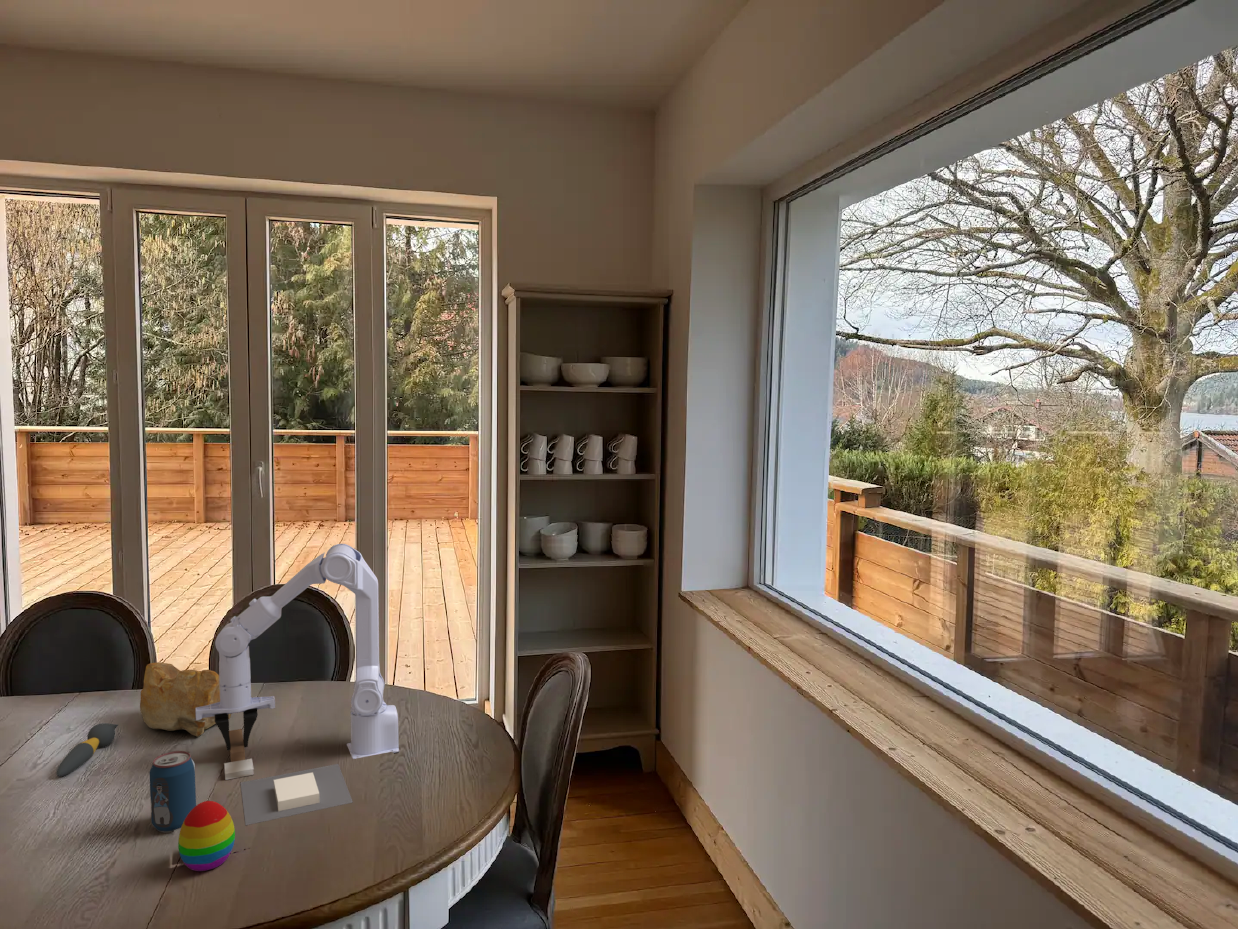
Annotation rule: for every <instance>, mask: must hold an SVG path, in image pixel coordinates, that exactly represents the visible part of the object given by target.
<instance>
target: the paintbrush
mask: <svg viewBox="0 0 1238 929" xmlns="http://www.w3.org/2000/svg"><path fill="white" fill-rule="evenodd" d="M118 727H119V724H113V723H107V722H106V723H105V722H102V723H97V724H94V726H92V727H91V728H90V729H89V731H88V732H87V739H85V740H84V741H82V742H80V743H78V744H76V745H75V747H73V748H72V749H70V751H69V752H68V753H67V754H66V756H65V757H64V758H63V759H62V760H61V762H60V763H59V765H58V767H57V769H56V772H55V773H56V774H55V775H56V776H57V777H65V776H67V775H69V774H71V773H73V772H74V771H76V770H77V769H79V768H80V767H83V765H85V764H86V763H87V762H88V761H89V760H90V759H91V758H92V757H93V755H94V754H95V752H96V750H97V749H102V748H106V747H108V746H110V745H111V744H113V742H114V740H115V737H116V729H117V728H118Z"/></svg>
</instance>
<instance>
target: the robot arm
mask: <svg viewBox="0 0 1238 929" xmlns="http://www.w3.org/2000/svg"><path fill="white" fill-rule="evenodd" d="M324 555H325V556H324ZM326 581H329V582H331V583H334V584H336V585H340V586H343V587H345V588H347V589H348V590H349V591H351V593H353V594H354V596H355V653H356V654H355V655H356V656H355V658H356V660H355V662H356V667H355V668H356V669H355V670H356V671H355V673H356V675H355V681H354V683H353V693H352V696H351V698H350V701H351V702H350V704H351V707H350V742H348V743H346V747H347V748H348V752H349V753H350V756H351V758H352V759H353V760H355V759H360V758H367V757H370V756H375V755H380V754H382V755H383V754H386V753H390V752H391V753H393V754H394V753H395V754H396V753H399V752H400V748H399V714H398V710H397V708H396V705H394V704H390V705H389V704H387V703H386V702H385V700H384V691H385V690H384V689H385V686H386V685H385V680H384V678H383V676H382V674H381V669H380V668H381V666H380V665H381V664H380V631H379V630H380V628H379V627H380V618H379V613H380V612H379V609H380V608H379V580H378V578H377V576H376V574H375V573H374V572H373V570H372V568H370V566H369V564H368V563H367V562H366V561H365V559H364V557H363V555H362V553H361V552H360V551H358V550H357V549H355V548H354V547H352V546H351V545H349V544H346V543H337V544H334V545H332V546H331V547H330V548H329V549H328V550H327V552H326V553H325V552H323V553H321V554H319V555H317V556H316V557H315V558H314V559H312V560H311V561H310V562H308V563H307V564H306V565H304V566H303V567H302V568H301V569H300V570H299V571H298V572H297V573H296V574H295V575H294V576H292V577H291V578H290V579H289V580H287V582H285V584H284V585H282V586H281V587H280V588H279V589H277V591H275V593H273V594H272V595H271V596H266V595H265V596H264V595H263V596H260V597H259V598H258V599H256V598H253V599H252V600H250V601H249V603H248V605H249V606H248V607H247V608H246V609H244V610H243V611H242V612H241V613H240V614H239V615H237V616H236V615H234V616H233V617H232V618H231V619H230V620H229V621H230V622H229V623H227V624H225V626H224V627H223V628H222V629H221V630H220V632H219V633H218V634H217V636H216V639H215V641H214V642H215V648H216V650H217V652H218V656H219V657H218V658H219V662H218V675H219V683H220V702H218V703H214V704H210V705H206V706H202V707H196V720H201V719H202V718H206V717H213V716H215V723H216V724H215V725H216V726H217V728H218V730H219V731H220V733H221V735H222V737H223V739H224V743H225V746H226V751H230V748H231V745H230V737H229V731H230V719H229V716H228V714H231V715H232V714H236V713H237V714H238V713H242V714H243V716H242V718H243V732H242V735H243V743H244V749H245V748H248V747H249V740H250V735H251V732H252V729H253V728H254V724H255V722H256V720H257V718H258V710H263V709H275V708H276V698H275V695H271V696H255V697H254V696H252V686H251V685H252V684H251V683H252V682H251V680H252V679H251V658H250V646H249V644H250V643H251V641H252V640H255V639H257V638H258V637H259V636H261V635H262V634H263V633H264V632H266V630H268V629H269V628H270V627H271V626H272V625H274V624H275V623H276V622H277V621H278V620H280V619H281V617H282V608H283V607H285V606H286V605H288V604H289V603H290V602H291V601H293V600H294V599H295V598H296V597H297V596H299V595H300V594H302V593H303V592H304V591H305V590H306V589H308V588H309V587H310V586H311V585H318V584H325V583H326Z"/></svg>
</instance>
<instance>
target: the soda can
mask: <svg viewBox="0 0 1238 929" xmlns="http://www.w3.org/2000/svg"><path fill="white" fill-rule="evenodd" d="M195 768H196V766H195V761H194V760H193V759H192V756H191V754H190V753H189V752H188V751H183V750H174V751H169V752H166V753H162V754H160V755H159V756H158V755H157V757H155V758H154V759H153V761H152V766H151V767H150V769H149V774H148V775H149V792H150V793H149V795H150V797H149V798H150V822H151V825H152V826H153V827H154V829H156V830H157V831H158V832H159V833H165V834H166V833H167V834H168V833H174V831H175V830H178V829H181V827H182V824H183V822H184V820H185V818H186V817H187V815H188V814H189V813H190V811H191V810H192V809H193V808H194V807H195V806H197V794H196V793H197V791H196V770H195Z"/></svg>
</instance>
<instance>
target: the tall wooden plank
mask: <svg viewBox="0 0 1238 929" xmlns="http://www.w3.org/2000/svg"><path fill="white" fill-rule="evenodd" d="M242 729H243V728H237V729H231V730H229V737H230V745H231V748H230V750H229V758H230V762H224V763H223V764H224V766H223V767H224V779H225V780H226V781H227V780H233V779H237V778H238V779H239V778H243V777H249V776H253V775H254V770H255V769H254V763H253V758H247V759H246V750H245V748H244V743H243V730H242Z"/></svg>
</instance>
